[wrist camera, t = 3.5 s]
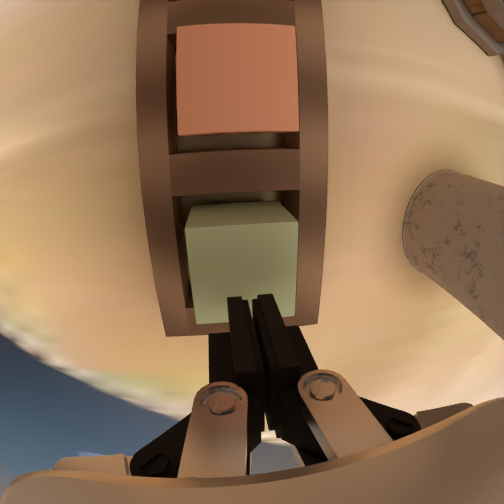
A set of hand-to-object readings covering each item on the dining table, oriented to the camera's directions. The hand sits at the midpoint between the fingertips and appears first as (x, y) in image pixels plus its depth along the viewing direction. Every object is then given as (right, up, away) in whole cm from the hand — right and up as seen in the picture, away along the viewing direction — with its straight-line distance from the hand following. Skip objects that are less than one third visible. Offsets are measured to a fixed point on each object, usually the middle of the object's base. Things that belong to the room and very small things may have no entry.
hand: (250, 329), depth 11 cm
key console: (-1, +12, +6) cm, 14 cm away
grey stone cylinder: (+17, +5, +11) cm, 21 cm away
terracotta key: (-1, +12, +4) cm, 12 cm away
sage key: (-1, +3, +7) cm, 8 cm away
